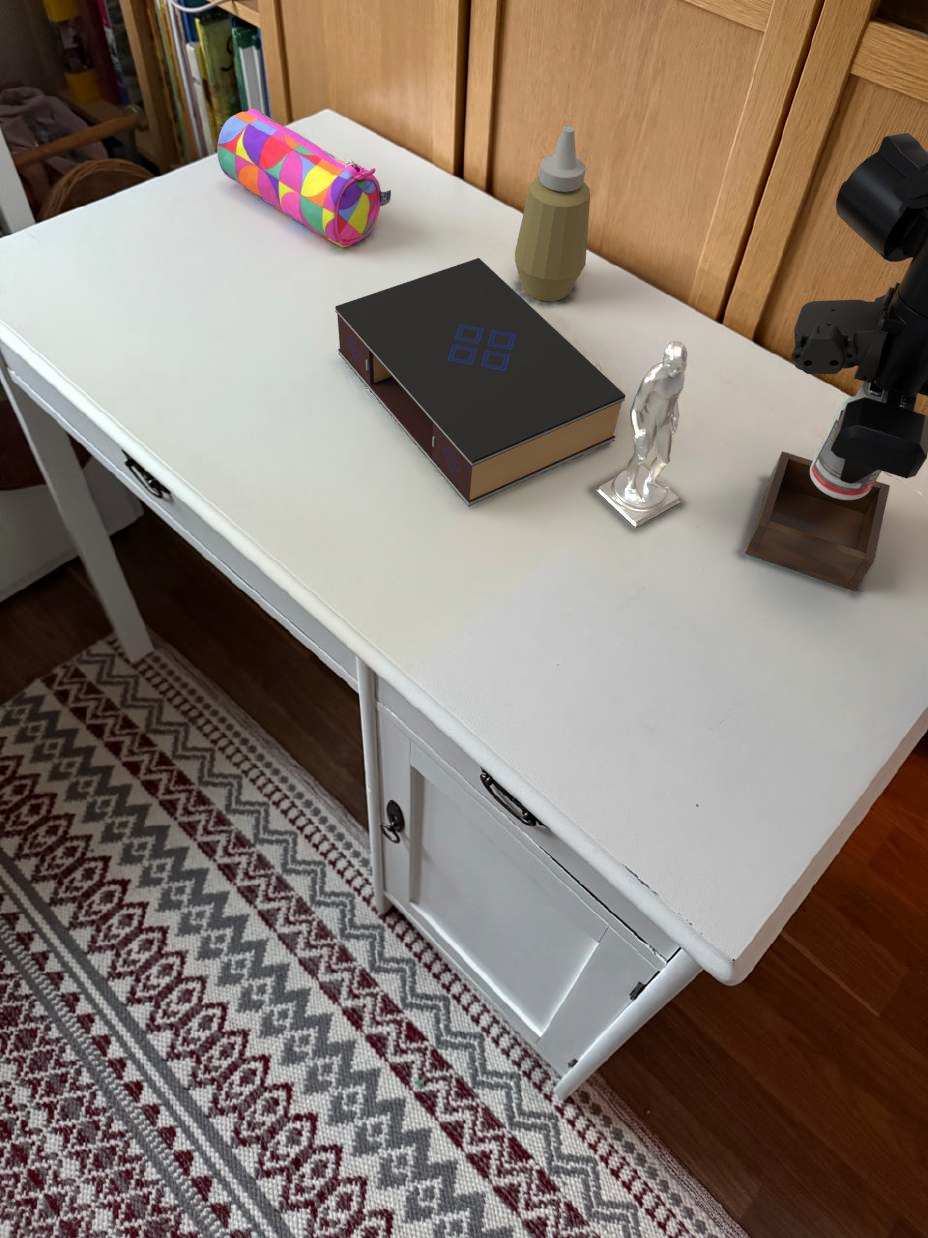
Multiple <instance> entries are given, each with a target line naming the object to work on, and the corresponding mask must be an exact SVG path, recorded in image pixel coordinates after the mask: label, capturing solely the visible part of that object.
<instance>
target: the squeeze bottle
mask: <svg viewBox="0 0 928 1238" xmlns="http://www.w3.org/2000/svg"><path fill="white" fill-rule="evenodd" d="M575 136H576V135H575V128H574V127H572V126H569V125H565V126H564V127H562V129H561V132H560V134H559V138H558V140H557V143H556V146H555V149H554V152H553V154H550V155H548V156H546V157H544V158H543V159H542V160H541V162H540V169H539V176H537V177H535V178H534V179H533V180H532V181H531V182H530V184H529V186H528V191H527V194H526V195H527V196H526V200H525V205H524V210H523V214H522V218H521V223H520V228H519V231H518V235H517V236H518V237H517V241H516V246H515V250H514V262H515V266H516V270H517V275H518V278H519V281H520V282H519V283H520V286H521V289H522V290H523V291H524V293H525V294H526V295H528V296H530V297H531V298H533V299H536V300H539V301H544V302H555V301H559V300H560V301H561V300H563V299H564V298H566V297H567V296H569V294H570V293H571V291H572V290H573V288H574V286H575V284H576V282H577V281H578V280H579V277H580V276H581V274H582V272H583V270H584V269H585V266H586V264H587V263H586V262H587V249H588V234H589V219H590V205H591V204H590V203H591V189H590V187H589V186H588V185H587V184H586V182H585V175H586V164H585V163H584V162H583V161H582V160H581V159H580V158H578V157H577V153H576V137H575Z"/></svg>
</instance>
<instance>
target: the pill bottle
mask: <svg viewBox="0 0 928 1238" xmlns="http://www.w3.org/2000/svg"><path fill="white" fill-rule="evenodd" d="M869 385H870V383H867V382H864V381H862V383H861V385H860V387H859V389H858V390H857V391H856V394H855V395H853V396H851V397H849V398H847V399H845V400H844V402H842V403H841V405H840V406H839V408H838V410H837V412H836V414H835V416H834V417H833V419H832V421H831V423H830V425H829V428H828V430H827V432H826V434H825V436H824V438H823V439H822V442H821V444H820V446H819V447H818V450H817V452H816V453H815V455H814V458H813V460H812V461H813V462H812V464H811V467H810V476H811V479H812V481H813V482H814V484H815V485H816V486H817V487H818V488H819V489H820V490H821V491H822V492H824V493H825V494H827V495H829V496H831V497H833V498H837V499H843V500H854V499H859V498H861V497H863V496H865V495H866V494H867V493H868V492H869V491H870V490H871V488H872V486H873V485H874V483H875V482H876V481H877V480H878V478H879V476H880V475H881V473H882V471H881V470H877V471H875V472H873V473H872V474H870V475H868V476H866V477H864V478H863V479H861V480H859V481H857V482H855V483H854V484H849V483H846V482H843V481H841V480H840V477H841V473H842V469H843V465H844V461H845V459H842V458H839V457H836V456H835V454H834V453H833V452H832V451H831V450H830V449H831V445H832V441H833V438H834V434H835V430H836V427H837V424H838V420H839V417H840V413H841V410H844V409H845V407H846V405H847V403H849V402H851V401H854V400H857V399H860V398H863V397H866V398H870V399H873V400H876V401H880V402H882V398H883V394H884V390H883V392H882V395H881V397H876V396H872V395H870V394H868V388H869ZM902 397H903V396H902ZM901 400H902V399H901ZM900 406H901V405H900Z"/></svg>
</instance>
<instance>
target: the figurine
mask: <svg viewBox="0 0 928 1238" xmlns="http://www.w3.org/2000/svg"><path fill="white" fill-rule="evenodd" d="M662 359H663V361H661V362H659V363H656V364H654V365H652V366H650V368H649V369H648V370H647V371H646V373H645V374H644V376H643V377H642V380H641V381H640V384H639V387H638V389H637V391H636V393H635V395H634V397H633V401H632V404H631V407H630V411H629V417H630V424H631V428H632V430H633V431H632V432H633V433H634V436H633V437H634V439H633V448H634V451H633V455H632V456H631V457H630V459H629V460H628V463H627V465H626V469H625V470H622V471H621V472H619V473H618V474H617V475H616V476H615V477H614V478H612V479H610V480H609V481H607V482H605V483H603V484H601V485H599V487H598V488H596V489H595V491H596V492H597V493H598V494H599V495H600V496H601V497H602V498H603V499H604V500H605V501H606V502H607V503H608V504H609V505H611V506H612V507H613V508H614V510H616V512H618V513H619V514H620V515H621V516H622V517H623V518H624V519H626V520H627V521H628V522H629V523H630V524H631V525H632V526H633V527H634V528H638V527H640V526H641V525H643V524H645V523H647V522H648V521H650V520H652V519H654V518H655V517H657V516H659V515H661V514H662V513H664V512H666V511H668V510H669V509H671V508H674V507H675V506H676V505H678V504H680V503H681V501H680V500H679V499H680V497H679V496H678V495H677V494H675V492H674V491H672V490H671V487H672V486H671V485H670V484H669V483H667V482H666V481H664V479H663V478H662V477H661V476H660V474H661V473H662V472H663V470H664V469H665V467H666V466H667V465H669V463H670V462H671V452H672V446H673V445H672V444H673V435H674V434H676V432H677V429H678V425H679V419H680V408H679V399H680V396H681V393H682V392H683V389H684V388H685V382H686V381H685V379H686V374H685V372H686V370H687V367H688V366H687V365H688V363H687V361H688V350H687V348H686V346H685V344H684V342H682V341H679V340H672V341H670V342H669V343H668V344H667V345H666V346H665V348H664V352H663V357H662ZM652 447H653V448H654V451H655V455H656V456H655V457H654V458H653V459H652V461H651V462H650V463H651V464H650V468H649V469H648V468H646V467H645V466H644V465H643V463H645V462H646V461H647V458H648V455H649V453H650V452H651V449H652Z"/></svg>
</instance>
